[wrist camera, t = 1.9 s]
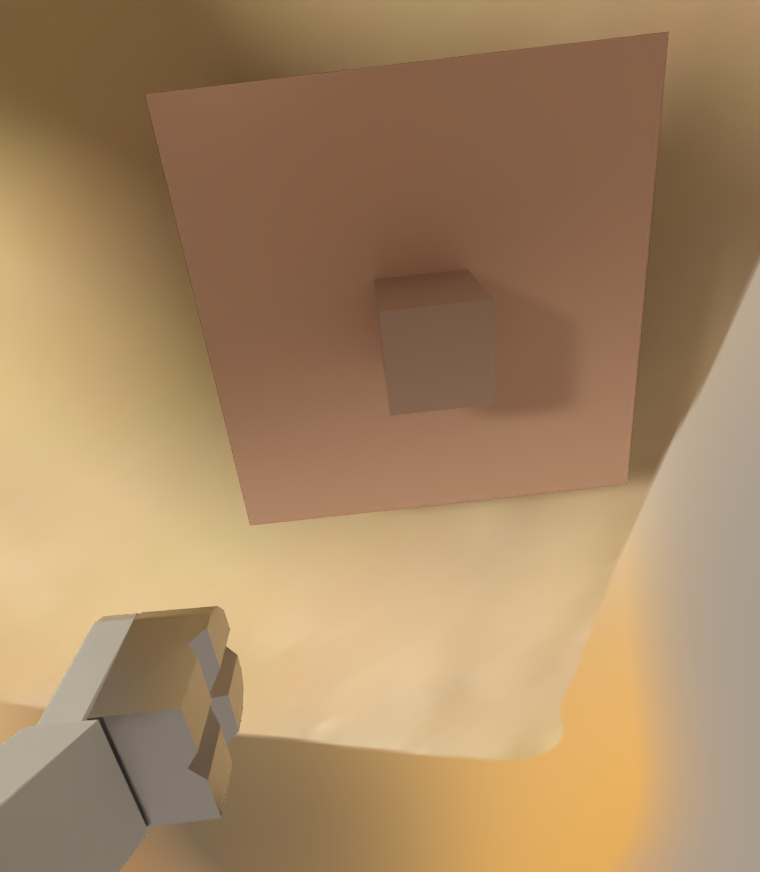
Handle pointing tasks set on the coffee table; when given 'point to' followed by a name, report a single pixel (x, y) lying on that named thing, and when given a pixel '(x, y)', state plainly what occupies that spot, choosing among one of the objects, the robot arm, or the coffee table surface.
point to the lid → (422, 271)
